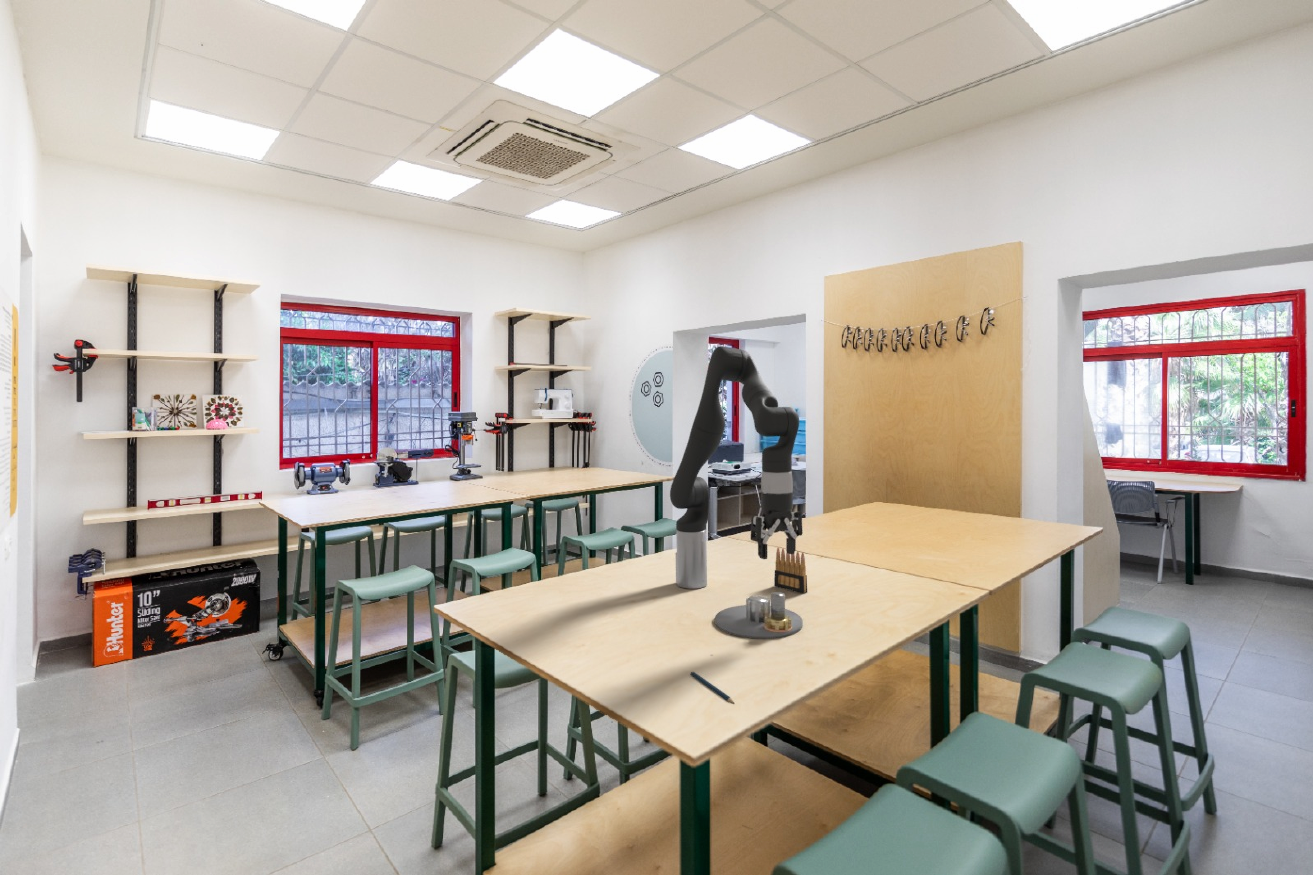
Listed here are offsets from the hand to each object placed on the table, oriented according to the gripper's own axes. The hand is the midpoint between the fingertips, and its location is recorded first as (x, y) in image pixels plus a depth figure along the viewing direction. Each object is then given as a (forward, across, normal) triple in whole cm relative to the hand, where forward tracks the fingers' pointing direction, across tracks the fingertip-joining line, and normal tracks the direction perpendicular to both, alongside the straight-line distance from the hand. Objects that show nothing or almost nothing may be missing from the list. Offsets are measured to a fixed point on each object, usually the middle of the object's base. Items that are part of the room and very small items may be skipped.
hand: (777, 556), depth 154 cm
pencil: (+19, +31, +17) cm, 40 cm away
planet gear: (+17, 0, 0) cm, 17 cm away
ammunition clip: (+19, -26, -24) cm, 41 cm away
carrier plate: (+19, 0, -7) cm, 20 cm away
